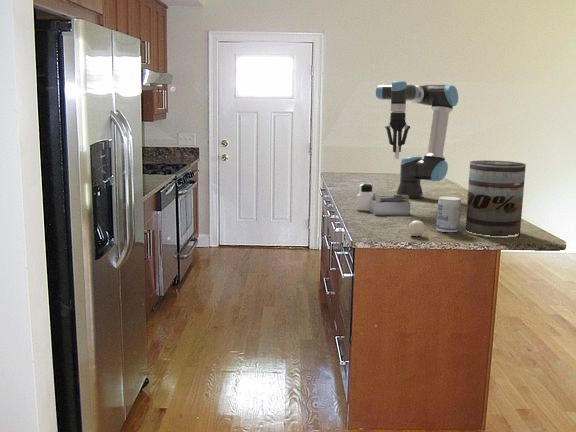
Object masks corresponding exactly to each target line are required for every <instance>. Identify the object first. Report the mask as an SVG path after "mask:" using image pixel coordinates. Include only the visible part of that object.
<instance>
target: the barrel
mask: <svg viewBox="0 0 576 432" xmlns="http://www.w3.org/2000/svg"><path fill="white" fill-rule="evenodd" d="M526 167H527V164H526V163H523V162H517V161H510V160H509V161H508V160H489V159H487V160H472V161H469V170H468V171H469V173H468V187H467V203H466V215H465V216H466V217H465V230H467V231H469V232H472V233H476V234H482V235H490V236H508V235H515V234H518V233H520V234H521V225H522V215H523V214H522V213H523V203H524V201H523V200H524V190H525V178H526Z"/></svg>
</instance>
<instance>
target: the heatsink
mask: <svg viewBox="0 0 576 432" xmlns="http://www.w3.org/2000/svg"><path fill="white" fill-rule="evenodd" d="M372 194H373V196H372V200H370V203H369V211H368V212H369V213H371V214H372V215H374V216H384V215H385V216H391V215H392V216H393V215H394V216H397V215H399V216H405V215H407V216H408V215H409V214H410V215H411V202H410V198H409V196H405V199H398V200H386V201H380V197H388V196H389V195H381V194H378V193H377V192H372ZM375 197H376V198H375ZM410 215H409V216H410Z"/></svg>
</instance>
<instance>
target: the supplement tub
mask: <svg viewBox="0 0 576 432" xmlns="http://www.w3.org/2000/svg"><path fill="white" fill-rule="evenodd" d="M461 208H462V199H461V198H460V197H457V196H446V195H445V196H440V197H438V201H437V215H436V224H435V225H436V228H435V229H436V230H435V231H437V230H438V231H437V232H439V231H442V232H457V231H458V232H459V231H460V230H459V229H460V220H461ZM442 232H441V233H442ZM458 232H457V233H458Z"/></svg>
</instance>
